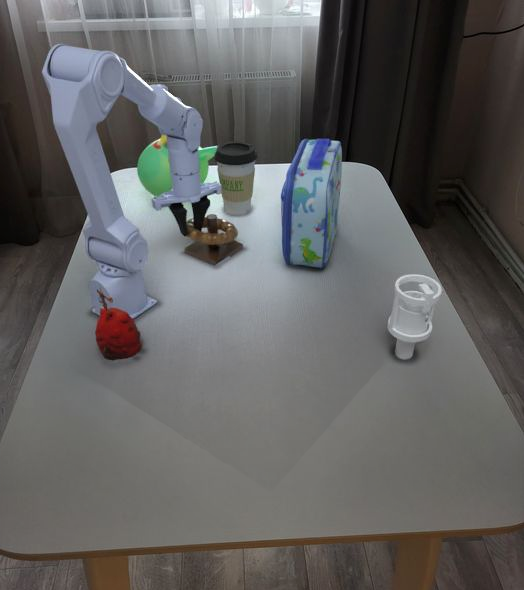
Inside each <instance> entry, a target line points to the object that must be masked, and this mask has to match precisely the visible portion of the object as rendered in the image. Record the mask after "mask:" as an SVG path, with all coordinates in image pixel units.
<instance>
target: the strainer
mask: <svg viewBox="0 0 524 590" xmlns="http://www.w3.org/2000/svg"><path fill="white" fill-rule="evenodd" d="M412 282H413V283H419V284H418V285H417V288H418V289H419V290H420V291H416V290H407V291H402V290H401V288H400V286H401V285H403V284H406V283H412ZM430 287H431V288H430ZM393 288H394V289H393V292H394V297H393V304H392V309H391V315H390V316H389V318H388V321H387V331H388V332H389V333H390V334H391V335H392V337H394V338H396V344H395V349H394V355H395V357H397V358H398V359H399V360H400V359H401V360H410V359H412V357H413V355H414V351H415V346H416V343H420V342H423V341H426V340H427V339H428V338H430V336H431V334H432V331H433V323H432V319H433V316H434V312H435V308H436V303H438V302H439V300H440V299H441V295H442V286H441V285H440V283H439V282H438V281H437V280H436V279H434V278H433V277H430V276H427V275H423V274H418V273H417V274H415V273H413V274H412V273H411V274H404V275H402V276H400V277H398V278H397V280H396V281H395V284H394V287H393Z"/></svg>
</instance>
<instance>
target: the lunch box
mask: <svg viewBox="0 0 524 590" xmlns="http://www.w3.org/2000/svg"><path fill="white" fill-rule="evenodd" d="M342 164H343V150H342V143H341V141H339V140H331V139H330V138H316V139H309V138H304V139H303V140H301V142H300V144H299V145H298V148H297V150H296V153H295V155H294V157H293V159H292V162H291V163H290V165H289V167H288V169H287V171H286V175H285V181H284V183H283V185H282V189H281V193H280V213H281V214H280V216H281V217H280V218H281V250H282V257H283V260H284V263H285V264H286V266H290V265H298V266H299V265H300V266H301V265H302V266H307V267H313V268H318V269H322V268H325V267H326V266H327V264H328V261H329V260H330V256H331V253H332V248H333V245H334V241H335V237H336V234H337V229H338V217H339V215H338V213H339V204H340V198H341V186H342V173H343V172H342V171H343V169H342V168H343V165H342Z"/></svg>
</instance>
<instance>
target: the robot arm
mask: <svg viewBox="0 0 524 590" xmlns="http://www.w3.org/2000/svg"><path fill="white" fill-rule="evenodd" d="M41 74H42V77H43V79H44V82H45V85H46V87H47V90H48V93H49V96H50V100H51V113H52V122H53V126H54V129H55V131H56V134H57V137H58V139H59V142H60V145H61V148H62V150H63V152H64V156H65V158H66V160H67V163H68V167H69V169H70V171H71V174H72V176H73V180H74V183H75V184H76V187H77V189H78V192H79V195H80V197H81V200H82V202H83V205H84V208H85V210H86V212H87V216H88V218H89V221H88V222H87V223H86V224H85V226H84V227H83V229H82V233H83V236H84V240H85V241H84V242H85V243H84V244H85V247H84V248H85V252H86V253H85V254H86V255H87V256H88V258H90V260H93V261H95V265H96V268H99V270H98V272H97V273H96V275H94V277H92V279H90V280H89V282H88V289H89V293H90V297H91V301H92V305H93V308H92V310H91V311H92V313H94V314H96V315H97V316H99V317H100V311H101V310H102V309H103V301H102V299H101V297H100V295H99V294H100V293H98V292H97V290H98V291H100V287H101V292H102V293H103V294H104V295H105V296H106V297H108V298H112V299H113V303H110V302H109V301H108V299H106V298H104V299H105V302H106V303H107V308H108V309H109V308H118V309H120V310H123V311H125V312H127V313H128V314H129V316H130V317H131V318H133V320H134V319H136V318H137V317H139V316H140V315H142V314H143V313H145V312H147V311H148V310H149V309H151V308H153V307H154V306H155V305H157V304H158V300H157V299H154V298H153V297H151V296H148V295H147V293H146V288H145V282H144V281H145V280H144V276H143V269H142V268H144V266H145V265H146V263H147V261H148V258H149V245H148V243H147V240H146V239H145V238H144V237H143V236H142V234H141V232H140V229H139V228H138V227H137V225H135V224H134V223H133V221H131V220H130V219H129V218H128V217H127V216H125V214H124V211H123V208H122V205H121V202H120V198H119V195H118V193H117V190H116V186H115V182H114V180H113V177H112V174H111V171H110V167H109V164H108V162H107V157H106V155H105V152H104V150H103V149H104V148H103V146H102V143H101V140H100V136H99V134H98V130H97V125H98V124H99V123H101V122H104V121H105V119H106V117H107V116H108V114H109V113H110V111H111V110H112V109H113V106H114V105H115V103H116V101H117V100H118V98H119V97H120V96H122V97H124V98H125V99H127V100H129V101H130V102H133V103H134V104H135V105H137V108H138V111H139V114H140V115H141V116H142V117H143V118H144V119H146V120H147V121H149V122H151V123H152V124H154V125H155V126H157V128H158V132H159V133H160V136H161V135H166V136H167V137H166V138H167V147H168V155H169V164H170V173H171V182H172V190H170V191H167V192H165V193H163V194H161V195H159V196H154V197H152V198H151V206H152V208H153V209H154V210H155V211H156V212H158V211H162V209H163V208H166V207H168V209H169V210H170V212H171V214H172V215H173V217H174V219H175V222H176V224H177V227H178V229H179V233H180V234H181V235H182V236H183V237H184V238H185V237H186V236H187V235H188V231H187V223H186V222H187V219H188V218H187V217H188V209H186V208H185V205H184V204H183V203H190V206H191V210H192V218H193V222H194V228H195V229H197V230H199V231H203V228H202V226H203V221H204V218H205V217H206V216H207V212H208V209H209V208H210V207H211V199H210V198H208V196H211V195H215V194H216V195H222V194H221V193H222V190H221V184H220V182H218V181H211V182H204V183H201V179H200V166H199V154H198V147H199V146H200V147H201V136H202V135H201V134H202V131H203V126H204V120H203V119H202V116H201V114H200V113H199V111H198V110H197V109H196V108H195V107H191V106H187V105H185V104H184V103H183V101H182V99H181V98H179V97H176V96H174V95H173V94H171V93H170V92H169V87H167V85H166V84H162V83H161V84H160V83H157V84H150V85H149V84H147V82H146V81H144V80H143V79H142V78H141V77H140V76H139V75H138V74H136V73H135V72H134V71H133V70H132V69H131V68H130V67H129V66H128V65H127V61H126V59H124V58H122V57H120V56H119V55H117V54H116V53H115V52H113V51H111V50H97V49H90V48H85V47H79V46H71V45H69V44H65V43H56V44H54V45H53V46H52V47H51V48H50V49H49V51H48V53H47V56H46V59H45V61H44V64H43V67H42V70H41ZM168 136H169V137H168ZM99 297H100V299H99ZM98 299H99V300H98Z"/></svg>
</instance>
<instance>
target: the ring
mask: <svg viewBox="0 0 524 590" xmlns="http://www.w3.org/2000/svg"><path fill="white" fill-rule="evenodd" d="M217 222H218V231H221V232H220V233H219V232H218V233H208V231H203V230H202V231H199V230H197V229H195V228H194V222H193V217H192V218H189V219H188V220H186V223H187V231H188V235H187V236H185V237H186V238H188V239H190V240H192V241H193V242H198V243H203V244H207V245H224V244H228V243H231V242H233V241H236V239H237V238H238V236H239V231H238V229H237V227H236V226H235V224H234V223H232V222H230V221H227V220H226V219H223V218H218V217H217ZM202 229H207V216H205V218H204V221H203V226H202Z"/></svg>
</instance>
